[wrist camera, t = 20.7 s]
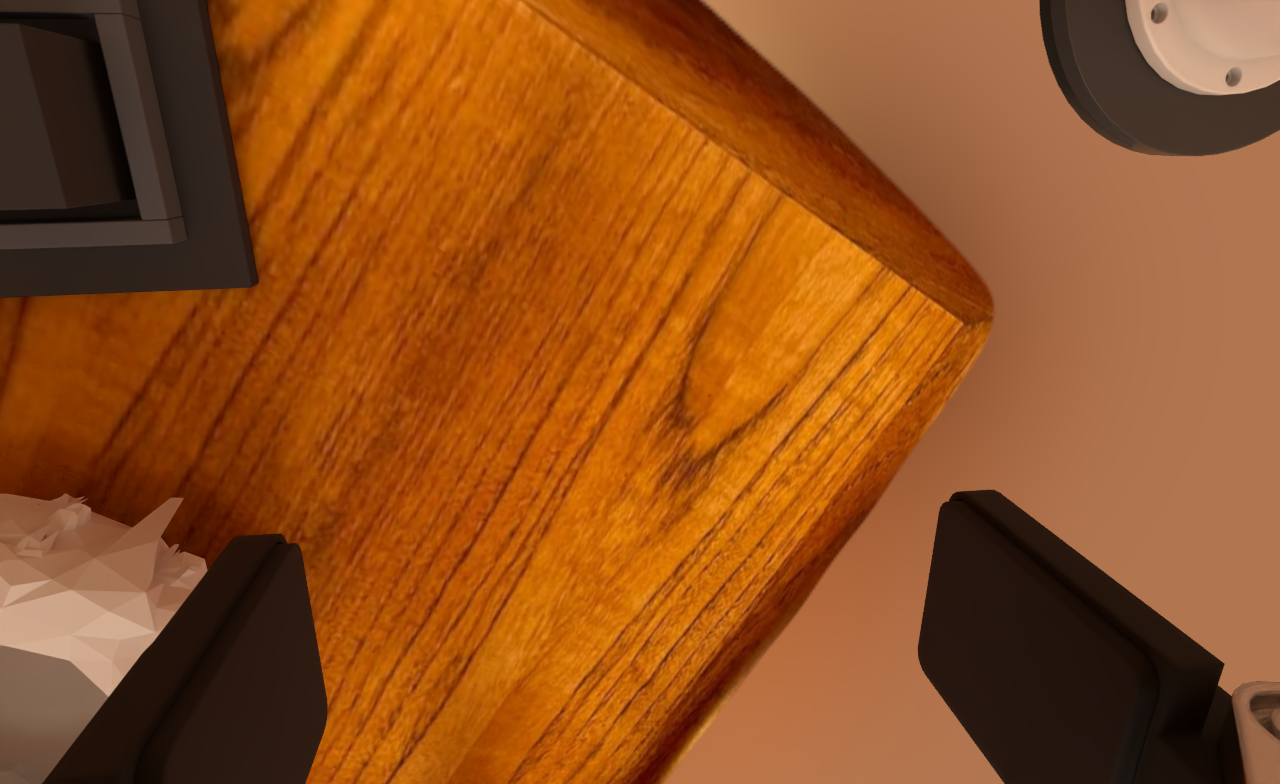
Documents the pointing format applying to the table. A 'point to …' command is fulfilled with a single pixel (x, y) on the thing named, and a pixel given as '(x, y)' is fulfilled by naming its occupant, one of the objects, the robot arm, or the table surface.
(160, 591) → the bowl
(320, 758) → the table surface
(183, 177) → the base pad
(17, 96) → the dark block
